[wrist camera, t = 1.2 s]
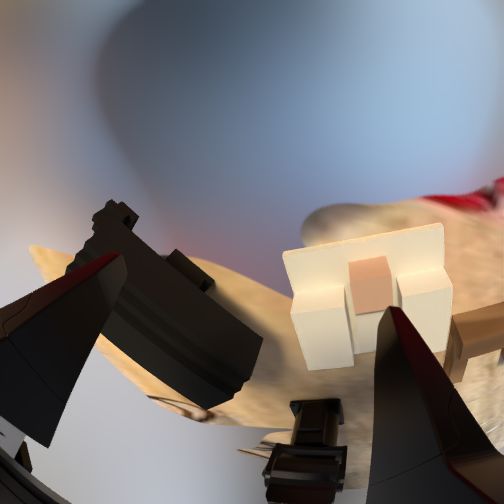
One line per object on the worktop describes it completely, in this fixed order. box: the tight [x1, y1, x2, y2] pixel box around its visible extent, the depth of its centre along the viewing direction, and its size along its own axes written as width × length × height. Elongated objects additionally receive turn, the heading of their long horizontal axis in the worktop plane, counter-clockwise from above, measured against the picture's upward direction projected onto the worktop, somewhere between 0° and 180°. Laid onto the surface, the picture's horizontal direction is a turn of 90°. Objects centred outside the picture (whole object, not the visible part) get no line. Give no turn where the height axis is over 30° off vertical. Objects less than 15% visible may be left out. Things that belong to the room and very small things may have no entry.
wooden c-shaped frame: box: [282, 222, 453, 371], centre depth 22 cm, size 12×13×4 cm
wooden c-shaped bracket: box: [443, 302, 504, 384], centre depth 20 cm, size 8×10×4 cm
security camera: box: [65, 199, 263, 410], centre depth 23 cm, size 7×18×10 cm, turn 51°
